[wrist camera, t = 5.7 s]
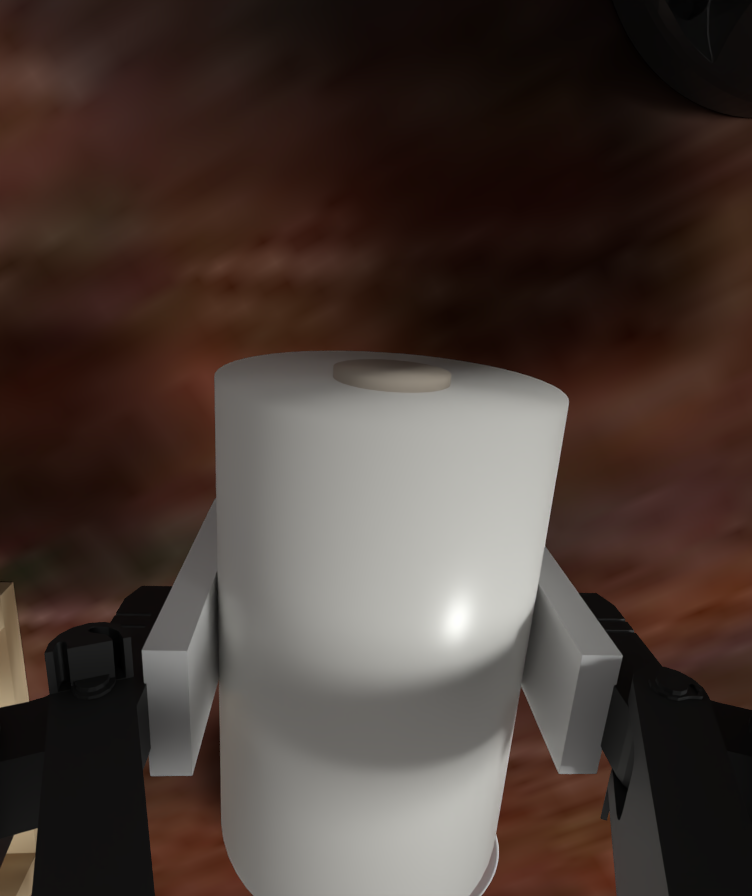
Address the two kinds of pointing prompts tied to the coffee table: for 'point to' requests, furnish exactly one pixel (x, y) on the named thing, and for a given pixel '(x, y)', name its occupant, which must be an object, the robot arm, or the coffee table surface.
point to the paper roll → (374, 612)
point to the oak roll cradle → (3, 685)
